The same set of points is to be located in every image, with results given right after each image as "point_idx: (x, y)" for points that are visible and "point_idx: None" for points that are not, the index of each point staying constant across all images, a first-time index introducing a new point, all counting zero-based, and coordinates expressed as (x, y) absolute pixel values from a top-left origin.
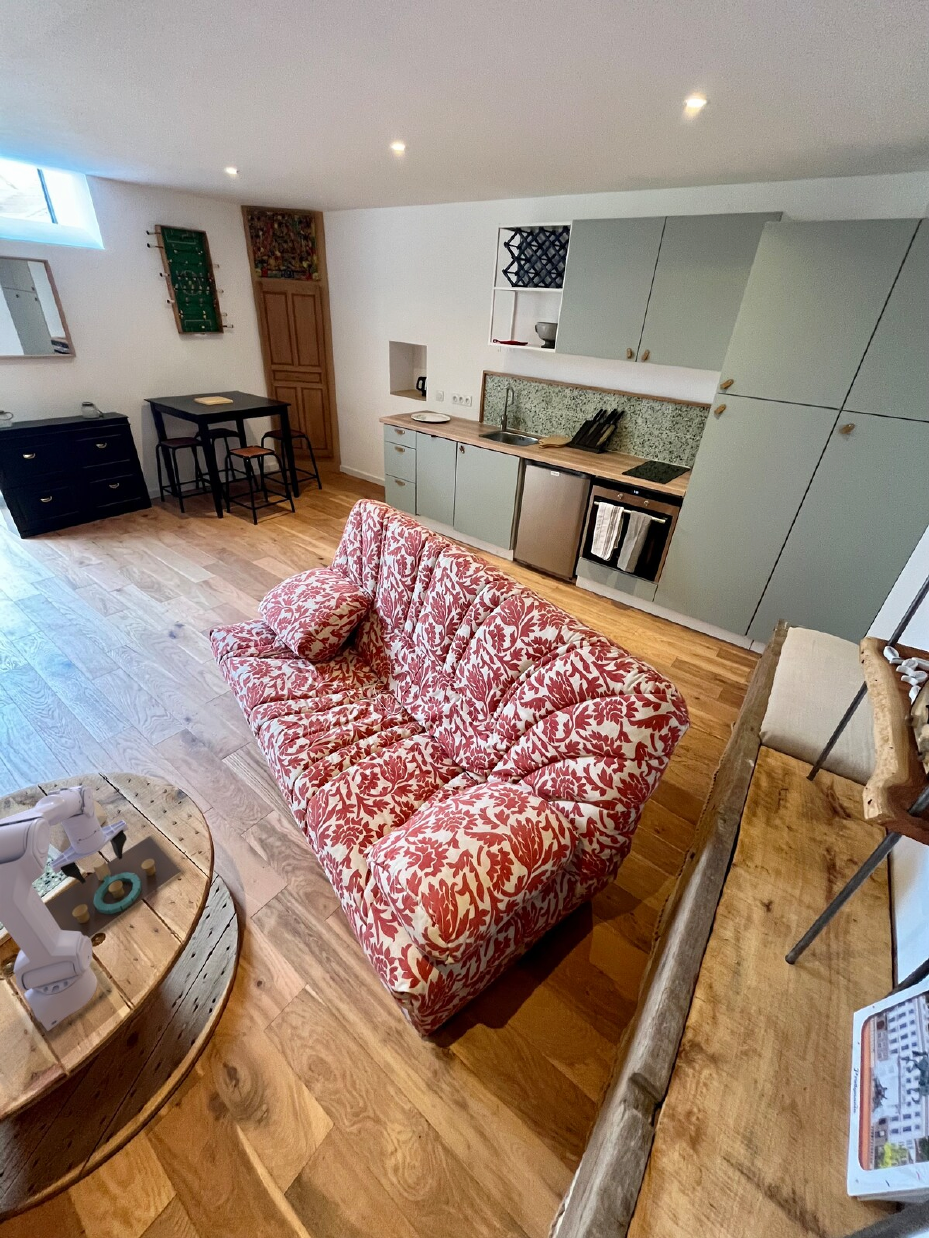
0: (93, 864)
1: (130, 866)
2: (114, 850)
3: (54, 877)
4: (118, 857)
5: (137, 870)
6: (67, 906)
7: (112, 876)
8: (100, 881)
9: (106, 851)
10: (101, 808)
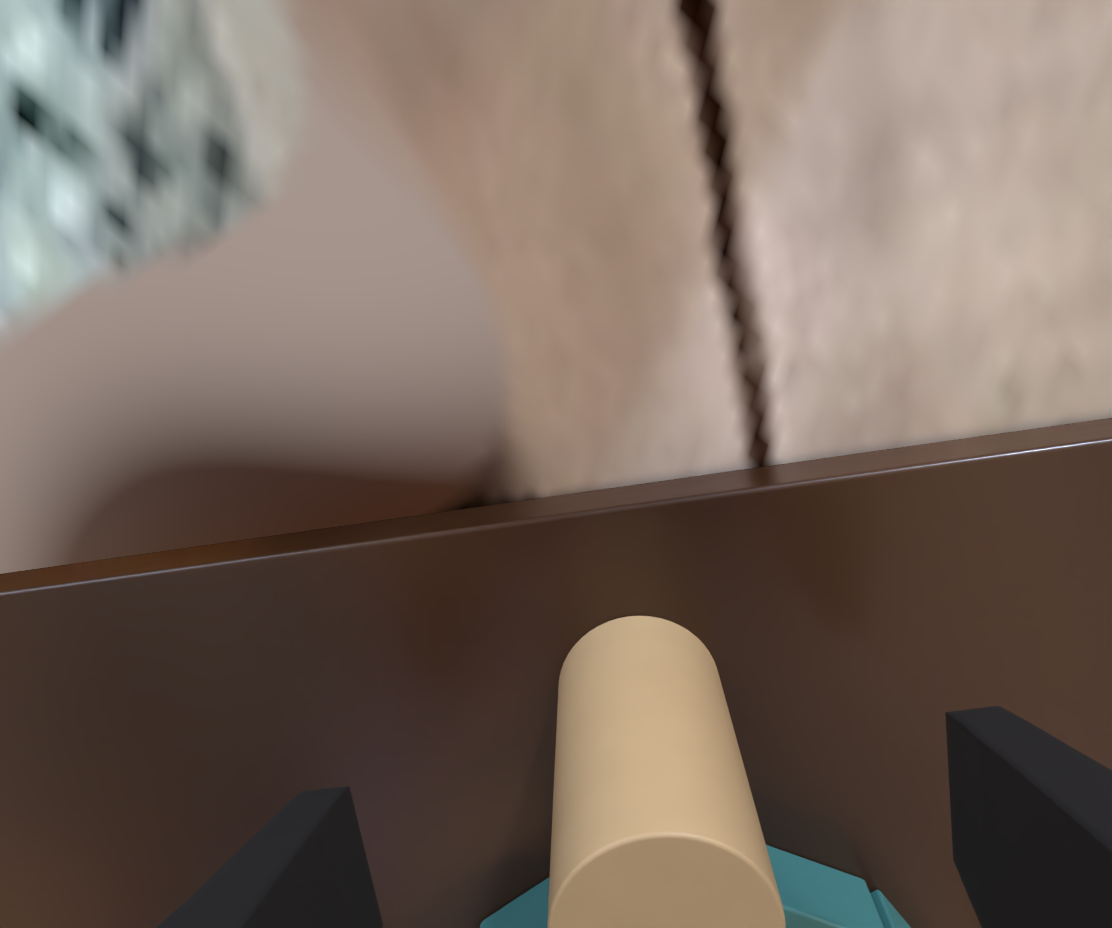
0: (570, 908)
1: None
2: (1025, 845)
3: (40, 136)
4: (979, 906)
5: None
6: (146, 832)
7: None
8: None
9: (792, 154)
10: None
